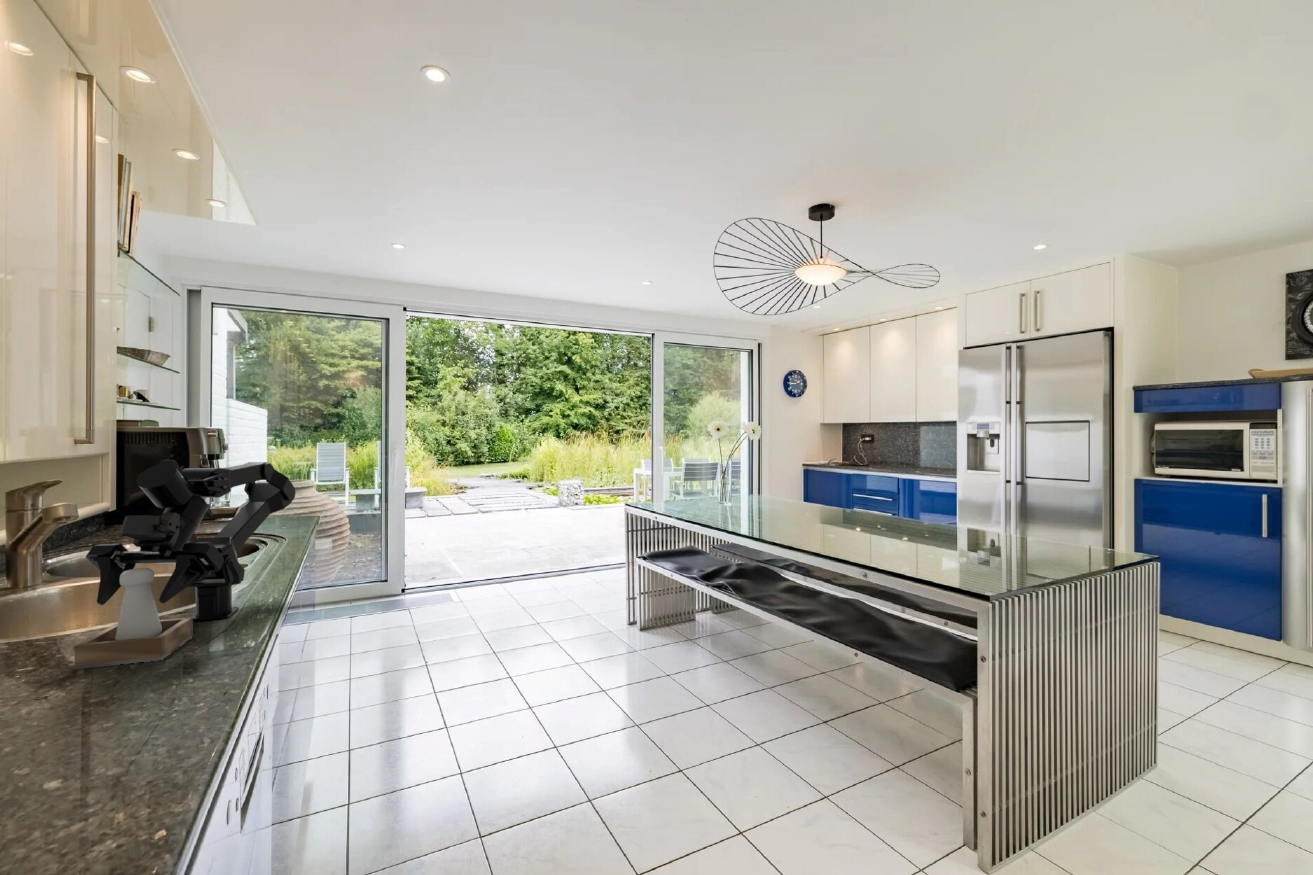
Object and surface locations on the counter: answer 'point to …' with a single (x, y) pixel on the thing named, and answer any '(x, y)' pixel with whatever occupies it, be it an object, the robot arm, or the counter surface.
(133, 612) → the salt shaker
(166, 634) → the shaker dock
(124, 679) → the counter surface
